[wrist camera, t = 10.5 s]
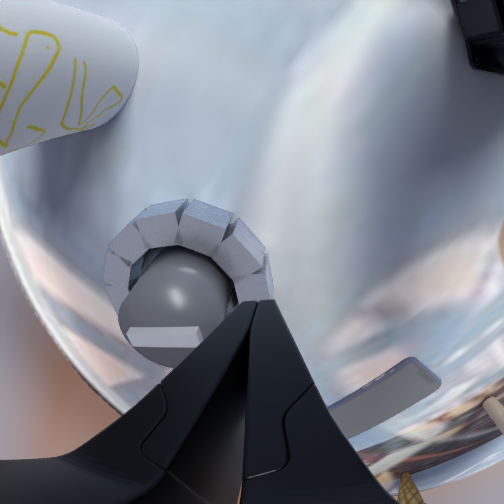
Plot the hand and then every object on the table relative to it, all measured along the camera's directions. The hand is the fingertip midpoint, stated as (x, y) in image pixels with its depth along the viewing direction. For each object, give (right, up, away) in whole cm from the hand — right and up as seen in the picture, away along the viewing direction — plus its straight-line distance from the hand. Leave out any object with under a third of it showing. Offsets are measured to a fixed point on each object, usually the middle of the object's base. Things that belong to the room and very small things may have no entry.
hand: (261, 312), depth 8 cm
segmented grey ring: (-5, 0, +14) cm, 14 cm away
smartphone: (+12, -14, +20) cm, 27 cm away
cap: (-5, 0, +14) cm, 14 cm away
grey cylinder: (-11, +14, +7) cm, 19 cm away
